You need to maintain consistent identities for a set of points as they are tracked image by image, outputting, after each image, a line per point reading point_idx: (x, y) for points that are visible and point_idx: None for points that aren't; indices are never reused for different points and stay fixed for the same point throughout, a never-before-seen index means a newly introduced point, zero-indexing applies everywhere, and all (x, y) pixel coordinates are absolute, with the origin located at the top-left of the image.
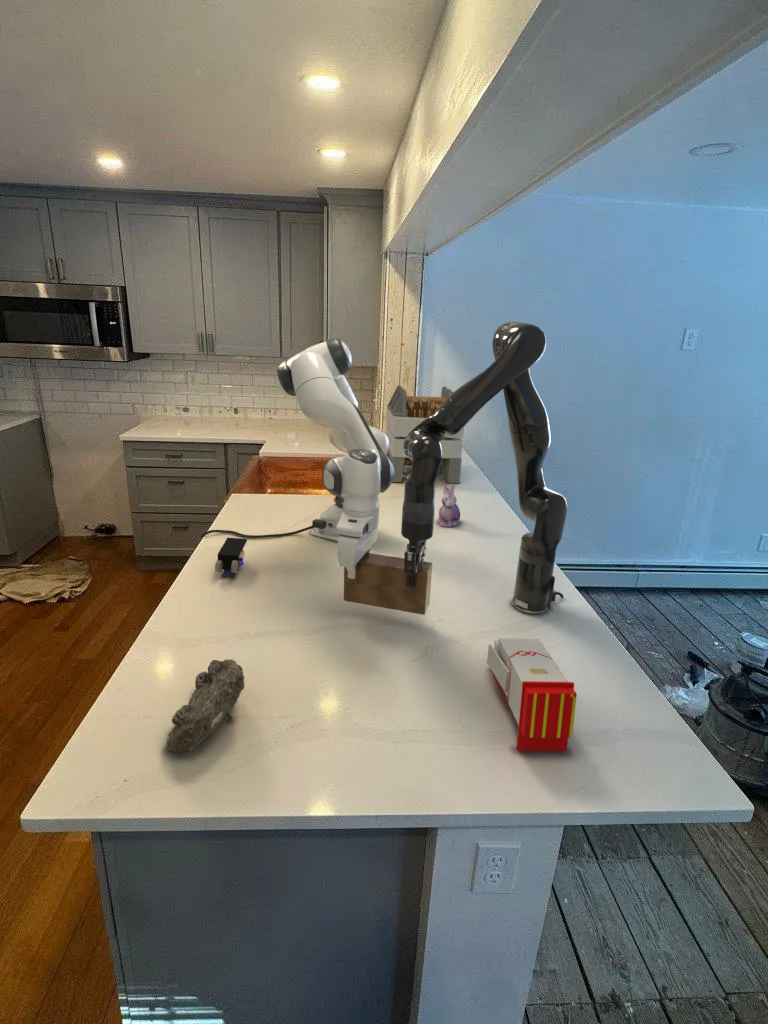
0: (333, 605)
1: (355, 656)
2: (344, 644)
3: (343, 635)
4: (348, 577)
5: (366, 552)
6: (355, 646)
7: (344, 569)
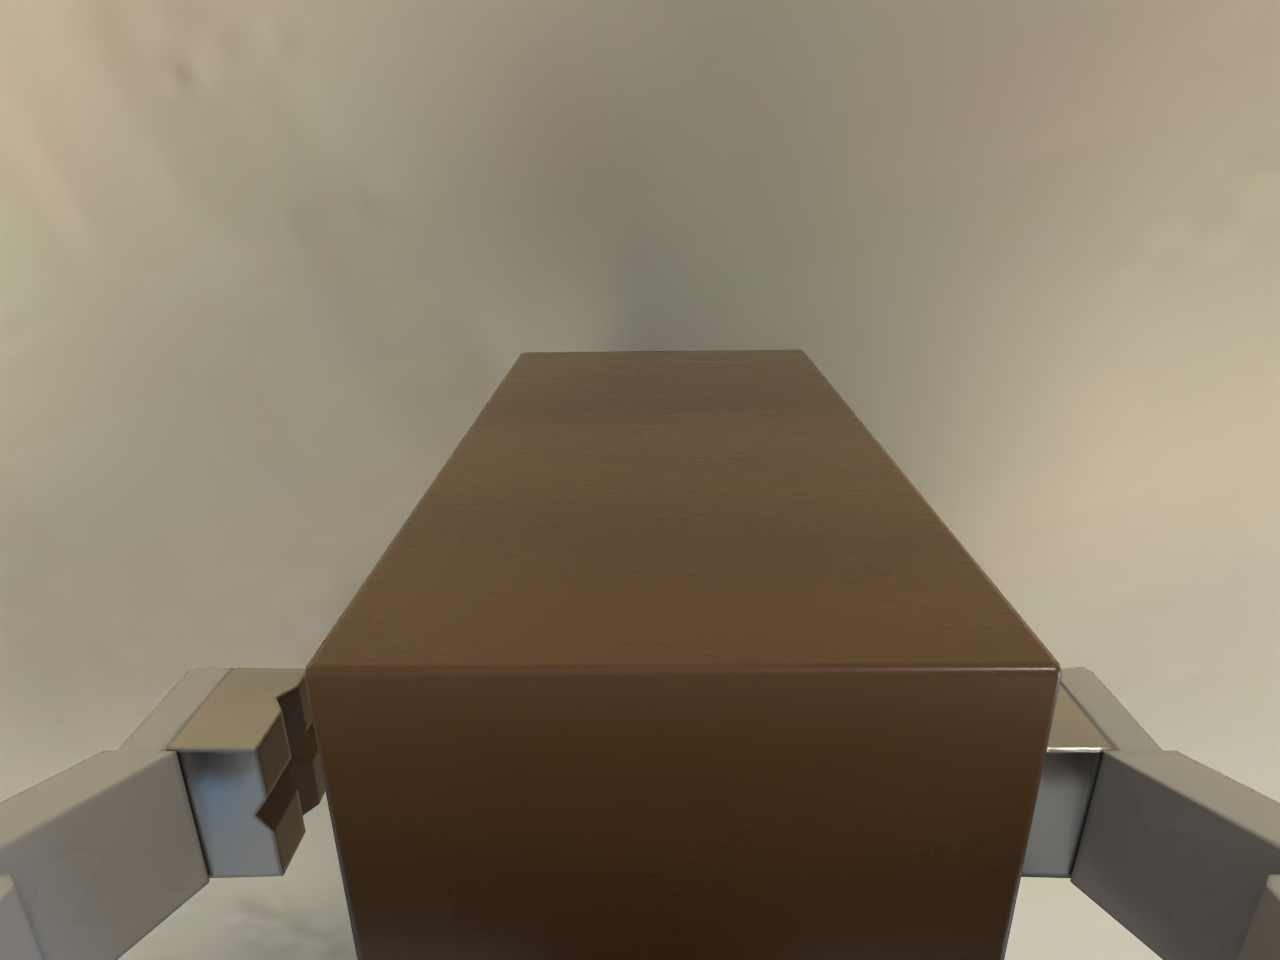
0: (760, 115)
1: (80, 589)
2: (173, 465)
3: (288, 412)
4: (200, 673)
5: (1161, 897)
6: (196, 550)
7: (397, 539)
